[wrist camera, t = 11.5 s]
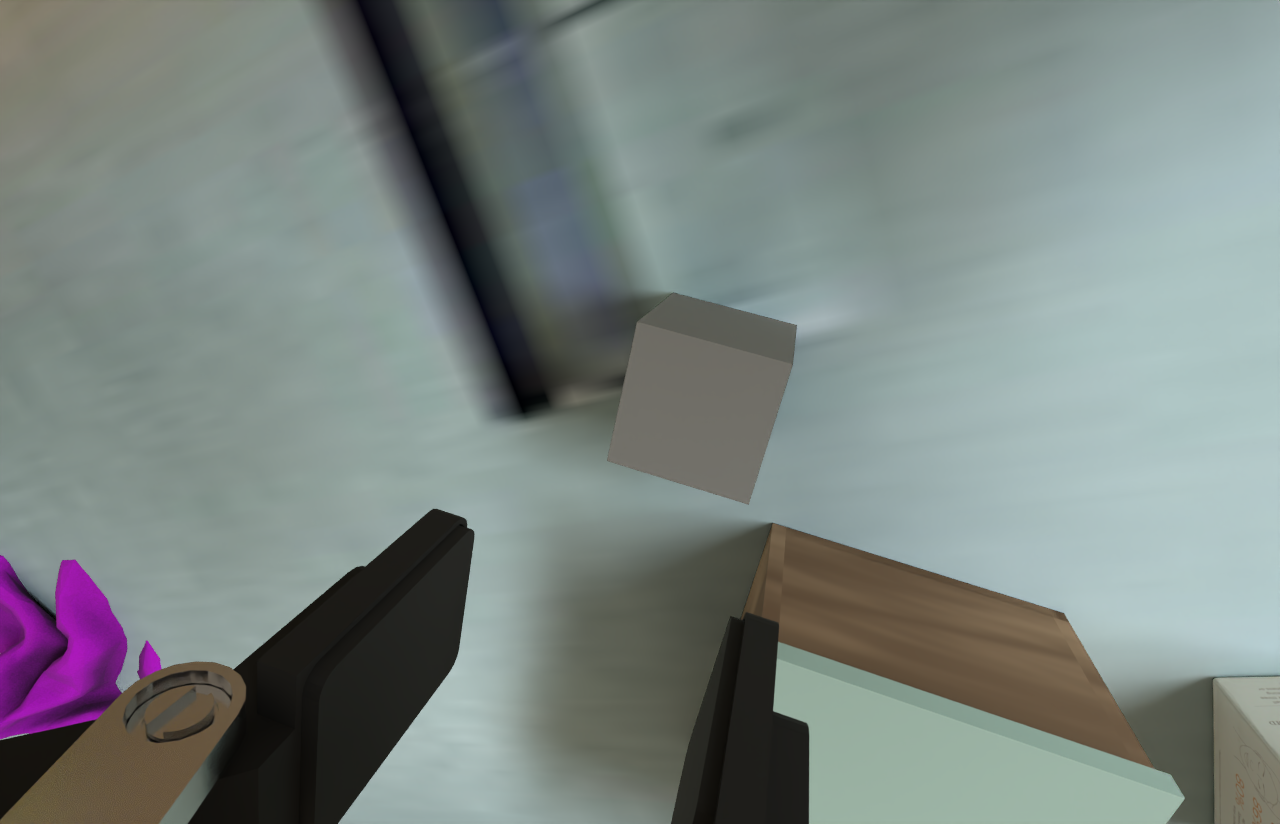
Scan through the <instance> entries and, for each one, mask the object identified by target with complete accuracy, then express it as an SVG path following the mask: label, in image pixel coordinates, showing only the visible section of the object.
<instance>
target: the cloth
mask: <svg viewBox="0 0 1280 824" xmlns="http://www.w3.org/2000/svg"><path fill="white" fill-rule="evenodd" d="M55 598H56V620H55V619H54V618H53V617H51V616H50V615H49V614H48V613H47V612H46V611H45V610H44V609H43V608H42V607H41V606H40V605H39V604H38V603H37V602H36V601H35V600H34V599H33V598H32V596H31V595H30V594H29V593H28V591H27V590H26V588H25V587H24V586H23V584H22V583H21V582H20V580H19V579H18V577H17V575H16V574H15V572H14V570H13V568H12V567H11V565H10V564H9V562H8V561H7V560H6V559H5V558H4V557H3V556H1V555H0V653H1V654H0V739H3V738H6V737H9V736H13V735H19V734H25V733H29V734H32V733H36V732H41V731H45V730H50V729H55V728H59V727H64V726H68V725H73V724H77V723H82V722H86V721H91V720H96V719H98V718H99V717H100V715H101V714H102V713H103V712H104V711H105V710H106V709H107V708H108V707H109V706H110V705H111V704H112V703H113V702H114V701H115V700H116V699H117V698H118V697H119V696H120V695H121V694H122V693H121V692H120V690H119V689H118V687H117V685H116V684H115V683H116V680H117V677H118V675H119V674H120V672H121V670H122V666H123V663H124V659H125V656H126V652H127V638H126V636H125V635H124V632H123V628H122V627H121V625H120V624H119V622H118V620H117V619H116V617H115V616H114V614H113V613H112V611H111V608H110V605H109V603H108V600H107V598H106V597H105V596H104V594H103V593H102V592H101V591H100V589H99V588H98V587H97V586H96V584H95V583H94V582H93V581H92V579H91V578H90V576H89V575H88V574H87V573H86V572H85V571H84V570H83V569H82V568H81V566H80V565H79V564H78V563H77V561H76V560H63V561H62V562H61V566H60V569H59V574H58V580H57V586H56V592H55ZM158 670H161V665H160V658H159V657H158V655H157V654H156V652H155V651H154V649H153V648H152V647H151V645H150V644H149V642H148V641H146V643H145V646H144V648H143V650H142V652H141V654H140V656H139V670H138V671H137V672H138V675H139V678H140V679H142V678H144V677H146V676H148V675H150V674H151V673H153V672H155V671H158Z"/></svg>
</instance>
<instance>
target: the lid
mask: <svg viewBox="0 0 1280 824" xmlns="http://www.w3.org/2000/svg"><path fill="white" fill-rule="evenodd" d="M773 711H774V712H777V713H780V714H783V715H786V716H789V717H791V718H794V719H797V720H800V721H803V722H806V723H807V724H808V727H809V824H1166V823H1167V822H1168V821H1169V819H1170V818H1171V817H1172V815H1173V814H1174V813H1175V811H1176V810H1177V809H1178V807H1179V806H1180V804H1181V803H1182V802H1183V800H1184V799H1185V797H1184V796H1183V794H1182V793H1181V791H1180V789H1179V788H1178V786H1177V784H1176V783H1175V781H1174V779H1173V778H1172V776H1171V774H1168V773H1165V772H1162V771H1159V770H1156V769H1153V768H1150V767H1147V766H1144V765H1141V764H1138V763H1135V762H1132V761H1129V760H1126V759H1123V758H1120V757H1117V756H1114V755H1111V754H1108V753H1106V752H1103V751H1100V750H1097V749H1094V748H1091V747H1088V746H1085V745H1082V744H1079V743H1076V742H1073V741H1070V740H1067V739H1064V738H1061V737H1058V736H1055V735H1052V734H1049V733H1046V732H1044V731H1041V730H1038V729H1035V728H1032V727H1029V726H1026V725H1023V724H1020V723H1017V722H1014V721H1011V720H1008V719H1005V718H1002V717H999V716H996V715H993V714H990V713H987V712H984V711H981V710H979V709H976V708H973V707H970V706H967V705H964V704H961V703H958V702H955V701H952V700H949V699H946V698H943V697H940V696H937V695H934V694H931V693H928V692H925V691H922V690H919V689H916V688H914V687H911V686H908V685H905V684H902V683H899V682H896V681H893V680H890V679H887V678H884V677H881V676H878V675H875V674H872V673H869V672H866V671H863V670H860V669H857V668H854V667H851V666H849V665H846V664H843V663H840V662H837V661H834V660H831V659H828V658H825V657H822V656H819V655H816V654H813V653H810V652H807V651H804V650H801V649H798V648H795V647H792V646H789V645H787V644H784V643H781V642H778V651H777V665H776V678H775V692H774V706H773Z"/></svg>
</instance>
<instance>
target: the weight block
mask: <svg viewBox="0 0 1280 824" xmlns="http://www.w3.org/2000/svg"><path fill="white" fill-rule="evenodd" d="M796 329H797V325H794V324H790V323H786V322H783V321H779V320H775V319H771V318H767V317H764V316H760V315H756V314H752V313H748V312H745V311H741V310H737V309H733V308H730V307H726V306H722V305H718V304H714V303H711V302H707V301H703V300H699V299H696V298H692V297H688V296H684V295H680V294H677V293H672V294H671V295H670V296H668V297H667V298H666V299H665V300H663V301H662V302H661V303H660V304H658V305H657V306H656V307H655V308H653V309H652V310H651V311H650V312H649V313H647V314H646V315H645V316H644V317H642V318H641V319H640V320H639V321H637V324H636V329H635V334H634V338H633V343H632V347H631V352H630V357H629V361H628V366H627V371H626V375H625V380H624V384H623V389H622V394H621V398H620V403H619V407H618V412H617V417H616V421H615V426H614V430H613V435H612V440H611V444H610V449H609V454H608V458H607V461H609V462H612V463H616V464H619V465H622V466H625V467H629V468H632V469H635V470H638V471H642V472H645V473H648V474H651V475H655V476H658V477H661V478H664V479H667V480H671V481H674V482H677V483H680V484H684V485H687V486H690V487H693V488H697V489H700V490H703V491H706V492H710V493H713V494H716V495H719V496H723V497H726V498H729V499H732V500H736V501H739V502H742V503H745V504H748V505H749V502H750V498H751V495H752V492H753V489H754V486H755V483H756V479H757V476H758V473H759V470H760V467H761V464H762V460H763V457H764V454H765V451H766V448H767V445H768V441H769V438H770V435H771V432H772V429H773V425H774V422H775V419H776V416H777V413H778V410H779V406H780V403H781V400H782V397H783V394H784V391H785V387H786V384H787V381H788V378H789V375H790V372H791V368H792V365H793V358H794V348H795V338H796Z"/></svg>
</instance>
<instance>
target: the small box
mask: <svg viewBox="0 0 1280 824" xmlns="http://www.w3.org/2000/svg"><path fill="white" fill-rule="evenodd" d="M1213 715H1214V819H1215V823H1214V824H1280V676H1278V677H1225V678H1215V679H1213Z"/></svg>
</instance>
